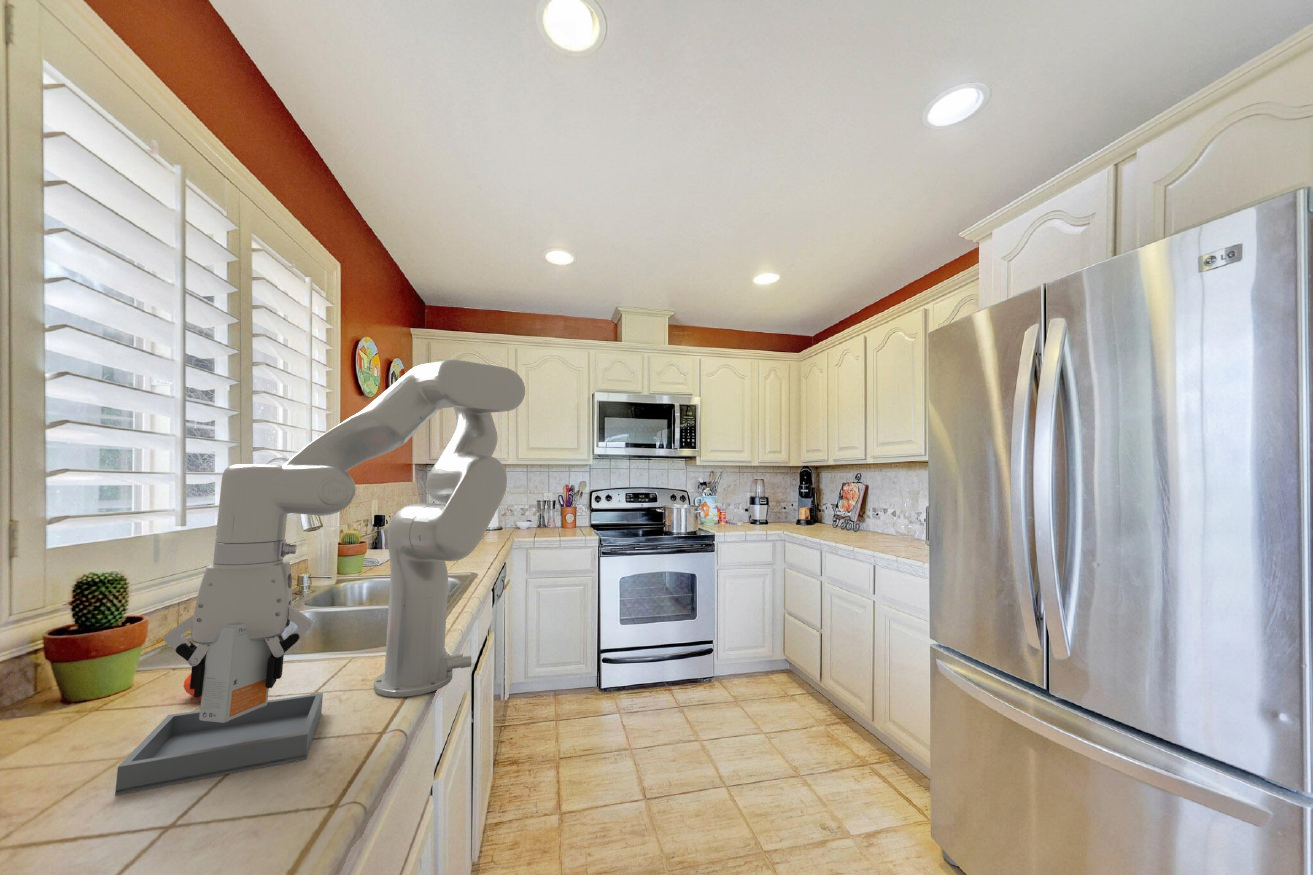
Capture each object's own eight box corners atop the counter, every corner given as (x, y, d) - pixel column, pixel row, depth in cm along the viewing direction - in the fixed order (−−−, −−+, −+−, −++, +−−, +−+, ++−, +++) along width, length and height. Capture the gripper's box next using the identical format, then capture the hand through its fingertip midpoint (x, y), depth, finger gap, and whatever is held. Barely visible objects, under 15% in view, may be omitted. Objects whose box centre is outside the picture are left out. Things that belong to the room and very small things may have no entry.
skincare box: (225, 724, 64) (234, 626, 66) (197, 721, 65) (207, 624, 66) (269, 704, 70) (277, 615, 72) (244, 702, 71) (251, 614, 72)
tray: (321, 713, 78) (322, 692, 78) (306, 759, 65) (307, 734, 66) (166, 738, 70) (168, 714, 70) (114, 795, 57) (117, 766, 58)
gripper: (328, 548, 77) (318, 670, 75) (177, 552, 69) (162, 688, 68) (321, 555, 70) (309, 689, 69) (153, 560, 63) (136, 712, 61)
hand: (237, 687), depth 68 cm, fingers closed on skincare box, 6 cm apart
